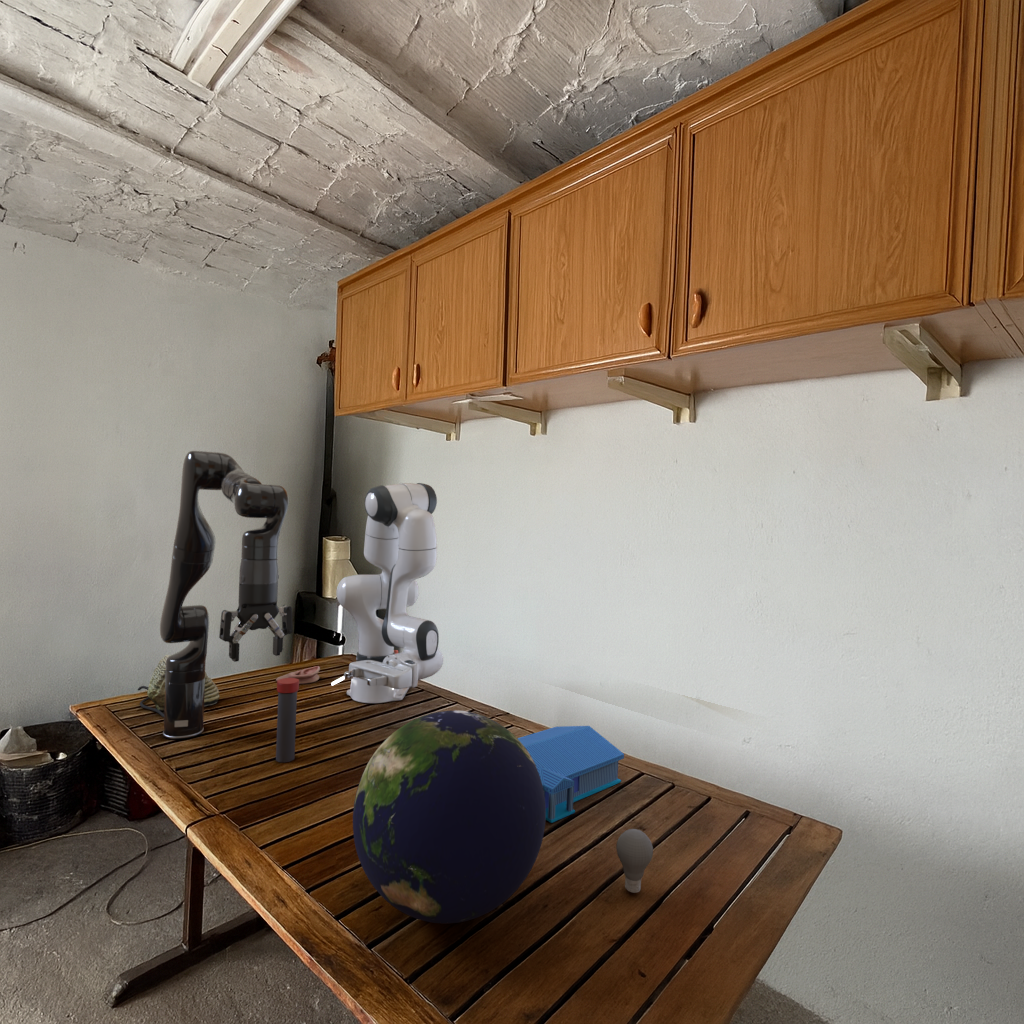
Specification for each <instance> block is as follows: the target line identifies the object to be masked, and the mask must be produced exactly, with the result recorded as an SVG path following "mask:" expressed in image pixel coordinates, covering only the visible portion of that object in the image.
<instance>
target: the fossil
mask: <svg viewBox="0 0 1024 1024" xmlns="http://www.w3.org/2000/svg"><path fill="white" fill-rule="evenodd" d="M171 655H172V654H165V655H164V656H163V657H162V658H161V659H160V660H159V662H158V663H157V666H156V667H155V669H154V670H153V672H152V675H151V677H150V680H149V684H148V687H149V688H148V690H147V697H149V698H150V699H149V700H150V701H152V703H153V704H154V706H155V709H158V710H160V711H161V712H163V711H164V705H165V674H166V660H167V658H168V657H169V656H171ZM220 698H221V696H220V690H219V688H218V686H217V685H216V683H215V682H214V681H213V679H212V678H211V677H209V675H208V674H207V672H206V671H205V693H204V707H207V706H213V705H215V704H217V703H218V701H219V699H220Z"/></svg>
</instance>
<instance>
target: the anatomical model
mask: <svg viewBox="0 0 1024 1024" xmlns="http://www.w3.org/2000/svg"><path fill="white" fill-rule="evenodd" d="M320 671H321V667H320V666H319V665H316V666H313V667H308V668H304V669H303V668H302V669H300V670H299V669H298V670H297V671H291V672H289V673H286V674H284V675H280V676H277V678H276V679H275V681H276V682H277V681H278V680H279V679H283V678H296V679H299V685H301V684H303V685H304V684H310V683H315V682H317V681H318V680H319V679H320V675H319V672H320Z"/></svg>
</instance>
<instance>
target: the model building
mask: <svg viewBox="0 0 1024 1024" xmlns="http://www.w3.org/2000/svg"><path fill="white" fill-rule="evenodd" d="M516 738H517V739H518V740H519V741H520V742H521V743H522V744H523V746H524V747H525V748H526V749H527V751H528V752H529V754H530V756H531V757H532V759H533V761H534V763H535V765H536V768H537V770H538V773H539V775H540V779H541V782H542V786H543V791H544V796H545V806H546V820H545V821H548V823H551V824H553V823H556V822H557V821H559V820H562V819H564V818H567V817H569V816H570V815H573V814H575V813H576V810H575V809H574V803H576V802H578V801H580V800H583V799H585V798H587V797H589V796H592V795H594V794H597V793H599V792H601V791H604V790H607V789H609V788H611V787H613V786H615V785H617V784H620V783H622V779H620V778H618V777H619V761H621V760H623V759H625V753H623V751H621V750H620V749H619V748H617V747H616V746H615V745H613V743H611V741H609V740H607V738H605V737H604V736H602V735H601V734H600V733H599V732H597V731H596V730H595V729H594V728H593V727H592V726H590V725H566V726H565V725H564V726H563V725H561V726H560V725H559V726H553V727H550V728H548V729H544V730H540V731H537V732H534V733H531V734H527V735H523V736H520V737H516Z"/></svg>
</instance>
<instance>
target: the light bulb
mask: <svg viewBox="0 0 1024 1024" xmlns="http://www.w3.org/2000/svg"><path fill="white" fill-rule="evenodd" d="M615 849H616V854H617V857H618V859H619V861H620V863H621V865H622V867H623V873H624V874H623V875H624V876H625V878H624V888H625V890H627V891H628V892H630V893H634V894H635V893H639V892H640V891H641V889H642V887H641V886H642V879H643V877H644V875H645V871H646V868H647V867H648V866H649V864H650V863H651V861H652V859H653V855H654V847H653V843H652V841H651V838H649V836H648V835H647V834H646V833H645V832H643V831H642V830H641V829H636V828H629V829H627V830H625V831H623V832H622V833H621V834H620V835H619V837H618V839H617V841H616V847H615Z"/></svg>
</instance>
